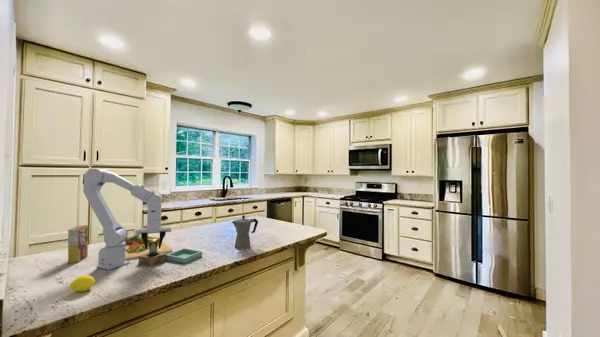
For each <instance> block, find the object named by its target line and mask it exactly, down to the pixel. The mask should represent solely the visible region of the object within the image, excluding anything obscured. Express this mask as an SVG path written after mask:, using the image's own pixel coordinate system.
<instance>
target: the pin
mask: <svg viewBox="0 0 600 337" xmlns="http://www.w3.org/2000/svg"><path fill="white" fill-rule="evenodd" d="M158 241H159V239H157V238H154V239H149V240H148V241H147V242H149V256H151V257H153V256H156V255H157V242H158Z"/></svg>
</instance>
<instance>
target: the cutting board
mask: <svg viewBox="0 0 600 337" xmlns="http://www.w3.org/2000/svg"><path fill="white" fill-rule="evenodd" d="M154 238H157V239H159V241H160V236H157V235H151V236H149V235H148V240H149V239H154ZM148 240H147V241H148ZM159 241H158V242H157V252H163V253H167V254H170V253H172V252H173V248H172V247H171V246H170V245H168V244H167V243H166V242H165V241H164V240H163V241H162V243H161V248H159ZM125 242H126V252H125V261H131V260H137V259H139V256H140V255H143V254H146V253H149V242H148V249H147V250H146V248H145V244H144V241H143V239H142V237H141V234H138V235H135V234H133V236H130V237H129V236H127V238H126V239H125Z"/></svg>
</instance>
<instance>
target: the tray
mask: <svg viewBox="0 0 600 337" xmlns="http://www.w3.org/2000/svg"><path fill="white" fill-rule="evenodd" d="M202 257H203V251H202V250H197V249H190V248H185V247H184V248H181V249H179V250H175V251H172V252H170V253H167V259H166V261H169V262H173V263H179V264H183V265H185V264H188V263H190V262H192V261H195V260H197V259H199V258H202Z"/></svg>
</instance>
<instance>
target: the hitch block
mask: <svg viewBox="0 0 600 337" xmlns="http://www.w3.org/2000/svg"><path fill="white" fill-rule="evenodd" d="M167 254H168V253H163V252H157V255H156V256H153V257H151V256H149V253H146V254H143V255H140V256H139V258H138V264H139V265H144V266H149V267H153V266H155V265H158V264H162V263H163V262H164V263H165V262H166V261H167V260H166V259H167Z"/></svg>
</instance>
